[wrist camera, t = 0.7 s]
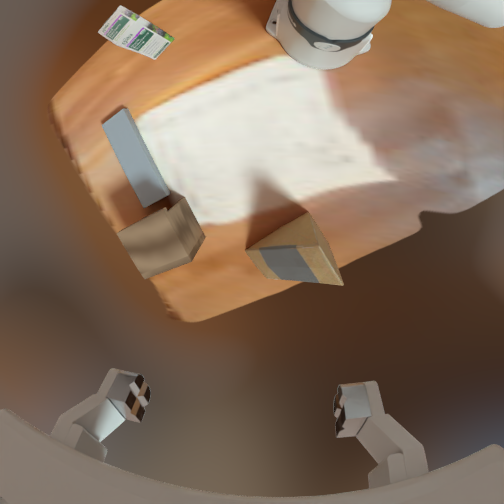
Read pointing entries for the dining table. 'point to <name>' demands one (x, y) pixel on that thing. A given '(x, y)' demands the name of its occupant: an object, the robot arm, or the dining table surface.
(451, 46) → the dining table surface
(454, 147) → the dining table surface
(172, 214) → the open wooden box
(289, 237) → the sandwich container
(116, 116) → the panel
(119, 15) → the syrup box
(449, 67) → the dining table surface
